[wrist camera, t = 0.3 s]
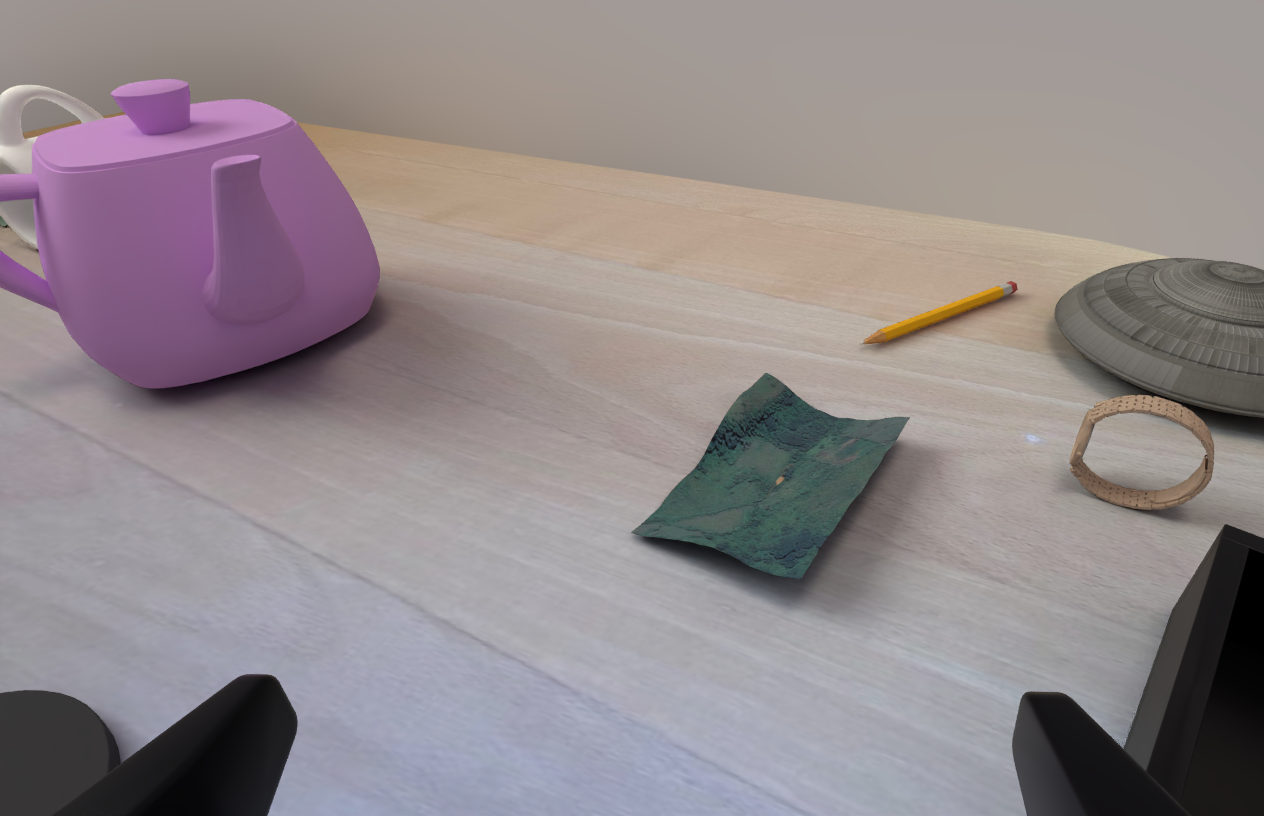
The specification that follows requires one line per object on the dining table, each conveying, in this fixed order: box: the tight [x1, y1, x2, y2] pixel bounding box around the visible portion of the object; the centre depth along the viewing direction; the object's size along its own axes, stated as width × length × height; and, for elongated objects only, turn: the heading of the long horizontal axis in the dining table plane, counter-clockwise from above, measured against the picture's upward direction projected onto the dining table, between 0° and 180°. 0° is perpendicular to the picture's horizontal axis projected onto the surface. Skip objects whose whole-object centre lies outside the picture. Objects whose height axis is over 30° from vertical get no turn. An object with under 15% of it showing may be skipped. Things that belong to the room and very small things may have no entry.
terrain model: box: [631, 373, 909, 579], centre depth 33 cm, size 13×8×2 cm, turn 145°
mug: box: [0, 85, 104, 249], centre depth 60 cm, size 8×10×12 cm
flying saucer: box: [1055, 258, 1264, 418], centre depth 39 cm, size 15×15×6 cm
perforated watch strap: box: [1070, 395, 1214, 510], centre depth 31 cm, size 3×5×5 cm, turn 57°
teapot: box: [0, 79, 380, 388], centre depth 40 cm, size 23×21×15 cm
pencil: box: [860, 281, 1018, 344], centre depth 45 cm, size 1×13×1 cm, turn 120°
